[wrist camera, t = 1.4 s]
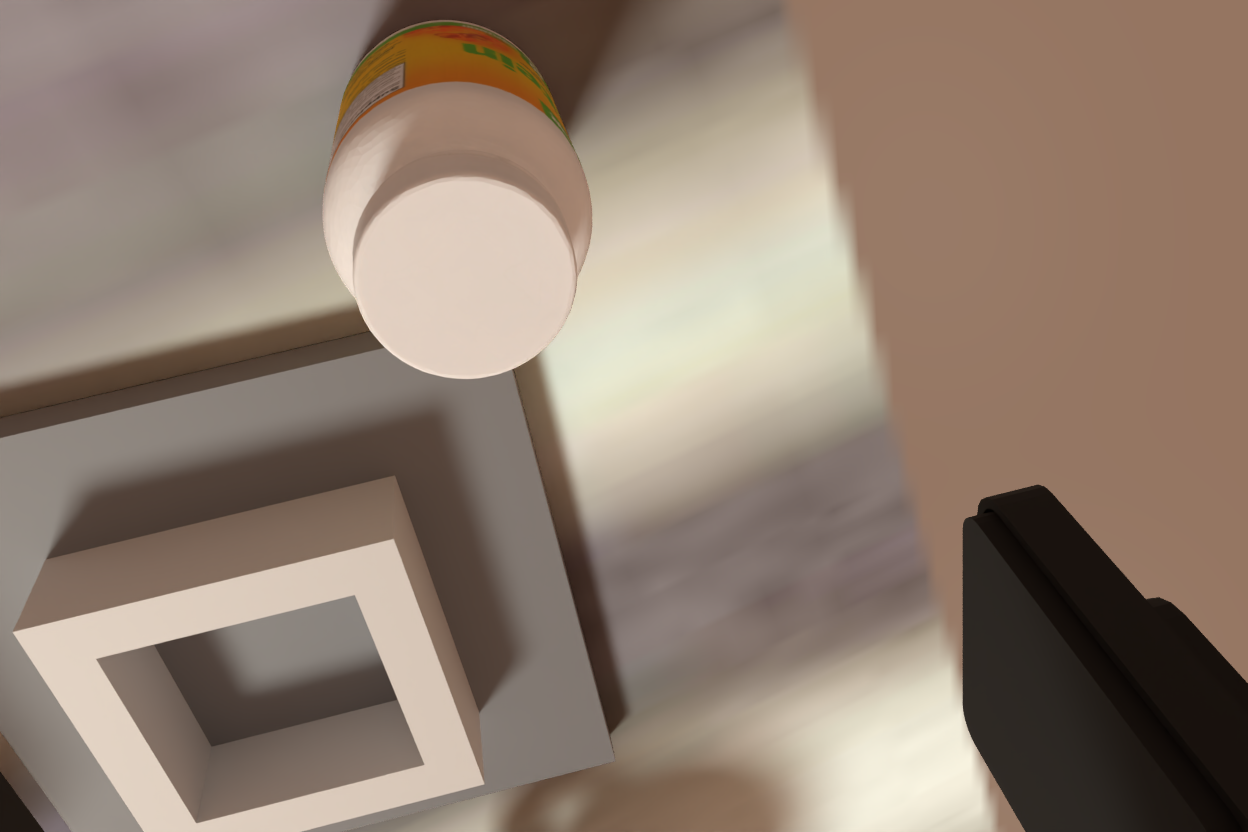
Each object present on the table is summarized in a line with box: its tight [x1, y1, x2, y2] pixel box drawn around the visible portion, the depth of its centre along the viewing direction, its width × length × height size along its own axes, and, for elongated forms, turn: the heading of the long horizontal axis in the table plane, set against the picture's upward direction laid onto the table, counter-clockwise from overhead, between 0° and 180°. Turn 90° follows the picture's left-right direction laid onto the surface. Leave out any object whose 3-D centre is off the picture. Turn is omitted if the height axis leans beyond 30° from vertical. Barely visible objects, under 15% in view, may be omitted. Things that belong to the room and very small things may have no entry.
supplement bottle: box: [323, 20, 592, 379], centre depth 23 cm, size 5×5×10 cm
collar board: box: [0, 332, 615, 832], centre depth 32 cm, size 18×18×4 cm
